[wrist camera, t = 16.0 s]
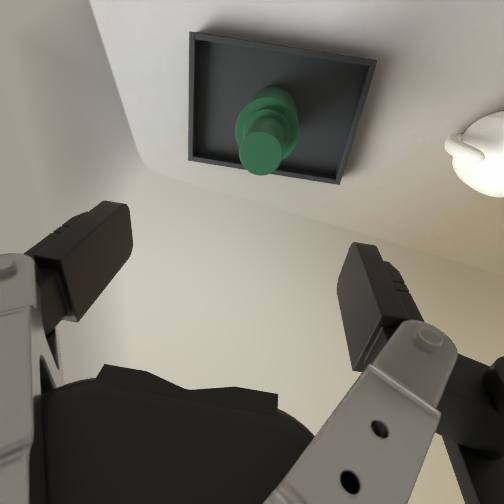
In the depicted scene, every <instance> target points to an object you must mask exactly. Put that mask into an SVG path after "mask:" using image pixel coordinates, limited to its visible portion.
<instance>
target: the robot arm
mask: <svg viewBox="0 0 504 504" xmlns="http://www.w3.org/2000/svg"><path fill="white" fill-rule="evenodd" d="M132 248H133V238H132V229H131V220H130V211H129V208H128V206H127V205H126V204H123V203H116V202H111V201H102V202H101V203H99V204H98V205H97V206H96V207H94V208H93V209H92V210H90V211H89V212H85V213H82V214H80V215H77V216H74V217H72V218H71V219H70V220H68V221H67V222H66V223H64V224H63V225H62V227H59V228H58V229H56V230H55V231H54V233H51V234H50V235H48V236H47V237H46V238H44V239H43V240H41V241H40V242H39V243H37V244H36V245H35V246H33V247H32V248H31V249H30V250H28V251H27V252H25V253H24V254H16V253H12V254H11V253H10V254H2V255H0V504H407V503H408V500H409V498H410V495H411V493H412V490H413V488H414V485H415V483H416V480H417V477H418V475H419V472H420V470H421V467H422V465H423V462H424V459H425V457H426V454H427V452H428V449H429V447H430V444H431V441H432V439H433V436H434V434H435V433H437V434H439V435H442V438H443V440H444V444H445V446H446V449H447V452H448V455H449V458H450V461H451V463H452V467H453V470H454V473H455V475H456V478H457V481H458V484H459V487H460V490H461V493H462V496H463V499H464V501H465V504H504V356H503V357H500V358H498V359H497V360H496V361H495V362H494V363H493V364H492V365H491V367H490V366H487V365H485V364H482V363H480V362H478V361H475V360H473V359H470V358H468V357H465V356H463V355H460V354H458V353H457V349H456V347H455V345H454V343H453V342H452V341H451V339H450V338H449V337H448V336H447V335H446V334H445V333H443V332H442V331H441V330H439V329H438V328H436V327H434V326H432V325H430V324H428V323H425V322H424V320H423V318H422V316H421V314H420V312H419V310H418V308H417V306H416V304H415V302H414V300H413V298H412V296H411V294H410V293H409V290H408V288H407V286H406V285H405V284H404V280H403V279H402V276H401V275H400V272H399V271H398V270H397V269H395V268H394V267H393V266H392V265H391V264H390V263H389V262H386V261H383V259H382V257H381V255H380V253H379V251H378V248H377V247H376V246H375V245H369V244H362V243H357V242H353V243H352V244H351V246H350V248H349V251H348V254H347V256H346V259H345V262H344V265H343V267H342V270H341V273H340V275H339V278H338V283H337V295H338V300H339V305H340V310H341V315H342V320H343V325H344V330H345V335H346V340H347V345H348V350H349V355H350V360H351V365H352V370H353V371H358V372H362V373H361V375H360V376H359V378H358V379H357V380H356V382H355V383H354V384H353V386H352V387H351V388H350V390H349V391H348V392H347V394H346V395H345V396H344V398H343V399H342V401H341V402H340V403H339V405H338V406H337V407H336V409H335V410H334V411H333V413H332V414H331V416H330V417H329V418H328V419H327V421H326V422H325V424H324V425H323V426H322V428H321V429H320V430H319V432H318V433H317V435H316V436H314V435H313V434H312V433H311V432H310V431H309V430H308V429H307V428H306V427H305V426H304V425H303V424H301V423H300V422H299V421H298V420H296V419H295V418H294V417H292V416H290V415H289V414H287V413H286V412H284V411H282V410H280V409H278V408H277V407H278V394H274V393H269V392H263V391H257V390H251V389H245V388H240V387H224V388H211V389H197V390H187V389H184V388H182V387H179V386H177V385H175V384H173V383H171V382H169V381H166V380H164V379H162V378H160V377H158V376H156V375H153V374H151V373H149V372H147V371H141V370H136V369H130V368H124V367H118V366H113V365H107V364H104V366H103V367H102V369H101V371H100V372H99V374H98V376H97V377H96V378H90V379H85V380H80V381H76V382H73V383H69V384H66V385H65V384H64V379H63V370H62V362H61V353H60V344H59V335H58V330H57V327H56V325H57V324H58V323H59V322H60V321H61V320H66V321H72V322H79V320H80V319H81V318H82V317H83V315H84V314H85V313H86V312H87V310H88V309H89V308H90V306H91V305H92V304H93V303H94V301H95V300H96V299H97V298H98V296H99V295H100V294H101V293H102V291H103V290H104V289H105V287H106V286H107V285H108V284H109V283H110V281H111V280H112V279H113V278H114V276H115V275H116V274H117V272H118V271H119V270H120V269H121V267H122V266H123V265H124V264H125V262H126V261H127V260H128V259H129V257H130V255H131V252H132Z"/></svg>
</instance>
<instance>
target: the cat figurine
mask: <svg viewBox="0 0 504 504" xmlns="http://www.w3.org/2000/svg"><path fill="white" fill-rule="evenodd" d="M445 149H446V151H447V152H448V153H449V154H451V155H452V156H453V161H452V164H453V168H454V170H455V172H456V174H457V175H458V177H459V178H460V179H461V180H462V181H463V182H464V183H466V184H467V185H468V186H470V187H471V188H473V189H475V190H476V191H478V192H480V193H482V194H485V195H488V196H492V197H504V111H501V112H497V113H493V114H490V115H487V116H485V117H482V118H481V119H479V120H477V121H476V122H474V123H473V124H472V125H471V126H470V127H469V128H468V129H467V130H466V131H465V133H464V134H463V135H462V134H456V135H452V136H450V137H449V138H447V140H446V142H445Z"/></svg>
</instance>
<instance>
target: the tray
mask: <svg viewBox="0 0 504 504" xmlns="http://www.w3.org/2000/svg"><path fill="white" fill-rule="evenodd" d="M376 63H377V60H371V59H365V58H358V57H352V56H345V55H339V54H332V53H326V52H319V51H313V50H307V49H300V48H294V47H287V46H281V45H274V44H268V43H261V42H255V41H248V40H242V39H235V38H229V37H223V36H216V35H210V34H203V33H197V32H189V131H188V160H189V161H195V162H201V163H207V164H214V165H220V166H226V167H232V168H238V169H245V167H244V166H243V165H242V163H241V160H240V157H239V149H240V148H239V146H238V143H237V140H236V135H235V127H236V122H237V119H238V116H239V114H240V112H241V111H242V110H243V108H244V107H245V106H246V105H247V104H248V102H249V101H250V100H251V99H252V98H253V97H254V96H255V94H256V93H257V92H258V91H260V90H261V89H263V88H265V87H268V86H279V87H282V88H284V89H286V90H287V91H288V92H289V93H290V94H291V95H292V96H293V98H294V100H295V103H296V108H297V115H298V122H299V138H298V142H297V144H296V146H295V148H294V150H293V151H292V153H291V154H290V155H289V156H288V157H287V158H285V159H284V160H282V161H281V163H280V165H279V166H278V168H277V169H276V170H275V171H273V172H272V173H270V174H276V175H282V176H288V177H294V178H300V179H307V180H313V181H319V182H325V183H331V184H338V185H339V184H340V181H341V178H342V175H343V172H344V168H345V165H346V162H347V158H348V155H349V152H350V149H351V145H352V142H353V139H354V135H355V132H356V129H357V126H358V122H359V119H360V116H361V113H362V109H363V106H364V103H365V99H366V96H367V93H368V90H369V86H370V83H371V80H372V76H373V73H374V70H375V67H376ZM245 170H247V169H245Z"/></svg>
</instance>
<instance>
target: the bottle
mask: <svg viewBox="0 0 504 504" xmlns="http://www.w3.org/2000/svg"><path fill="white" fill-rule="evenodd" d="M235 135H236V140H237V143H238V146H239V148H240V149H239V157H240V160H241V163H242V165H243V166H244V167H245V169H247V170H248V171H249V172H251V173H253V174H256V175H267V174H270V173H272V172H273V171H275V170H276V169H277V168H278V166H279V165H280V163H281V161H282V160H284V159H285V158H287V157H288V156H289V155H290V154H291V153H292V151H293V150H294V148H295V146H296V144H297V142H298V138H299V122H298V115H297V108H296V103H295V100H294V98H293V96H292V95H291V94H290V93H289V92H288V91H287V90H286V89H284V88H282V87H279V86H268V87H265V88H263V89H261V90H260V91H258V92H257V93H256V94H255V96H254V97H253V98H252V99H251V100H250V101H249V102H248V104H247V105H246V106H245V107H244V108H243V110H242V111H241V112H240V114H239V116H238V119H237V122H236V127H235Z"/></svg>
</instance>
